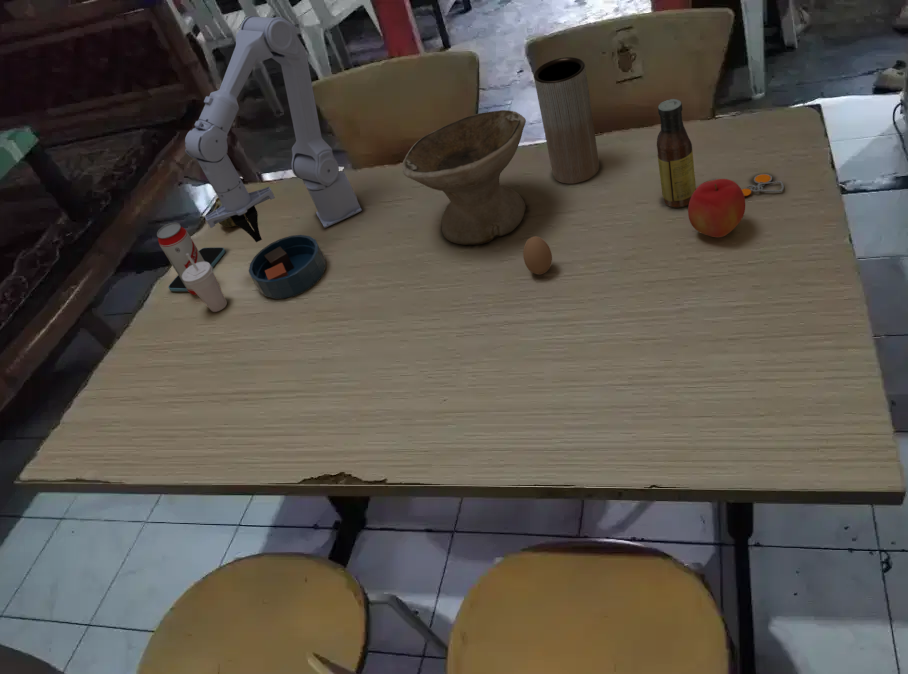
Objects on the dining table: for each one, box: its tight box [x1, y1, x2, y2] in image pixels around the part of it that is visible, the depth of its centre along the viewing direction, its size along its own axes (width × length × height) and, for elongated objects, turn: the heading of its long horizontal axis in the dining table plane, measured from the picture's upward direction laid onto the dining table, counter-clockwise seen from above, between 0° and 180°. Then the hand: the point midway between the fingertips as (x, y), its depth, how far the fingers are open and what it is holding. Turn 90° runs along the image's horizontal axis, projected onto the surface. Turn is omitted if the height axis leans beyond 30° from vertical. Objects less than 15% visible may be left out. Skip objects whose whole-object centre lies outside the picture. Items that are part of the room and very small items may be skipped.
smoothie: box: [182, 253, 228, 313], centre depth 152 cm, size 6×6×14 cm
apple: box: [687, 178, 746, 238], centre depth 129 cm, size 10×10×10 cm
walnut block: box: [264, 246, 294, 272], centre depth 158 cm, size 4×4×4 cm
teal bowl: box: [248, 234, 327, 300], centre depth 156 cm, size 15×15×5 cm
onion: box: [212, 197, 247, 228], centre depth 178 cm, size 8×8×8 cm
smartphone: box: [167, 247, 226, 292], centre depth 169 cm, size 7×1×15 cm
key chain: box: [712, 173, 785, 197], centre depth 138 cm, size 13×7×1 cm, turn 76°
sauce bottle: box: [656, 98, 697, 208], centre depth 135 cm, size 6×6×20 cm
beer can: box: [156, 222, 205, 297], centre depth 157 cm, size 6×6×16 cm
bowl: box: [401, 109, 527, 246], centre depth 147 cm, size 26×25×20 cm
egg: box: [522, 236, 553, 275], centre depth 135 cm, size 5×5×8 cm
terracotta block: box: [265, 263, 289, 280], centre depth 154 cm, size 4×4×4 cm
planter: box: [533, 56, 600, 184], centre depth 150 cm, size 10×10×23 cm
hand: (258, 239), depth 157 cm, fingers closed
